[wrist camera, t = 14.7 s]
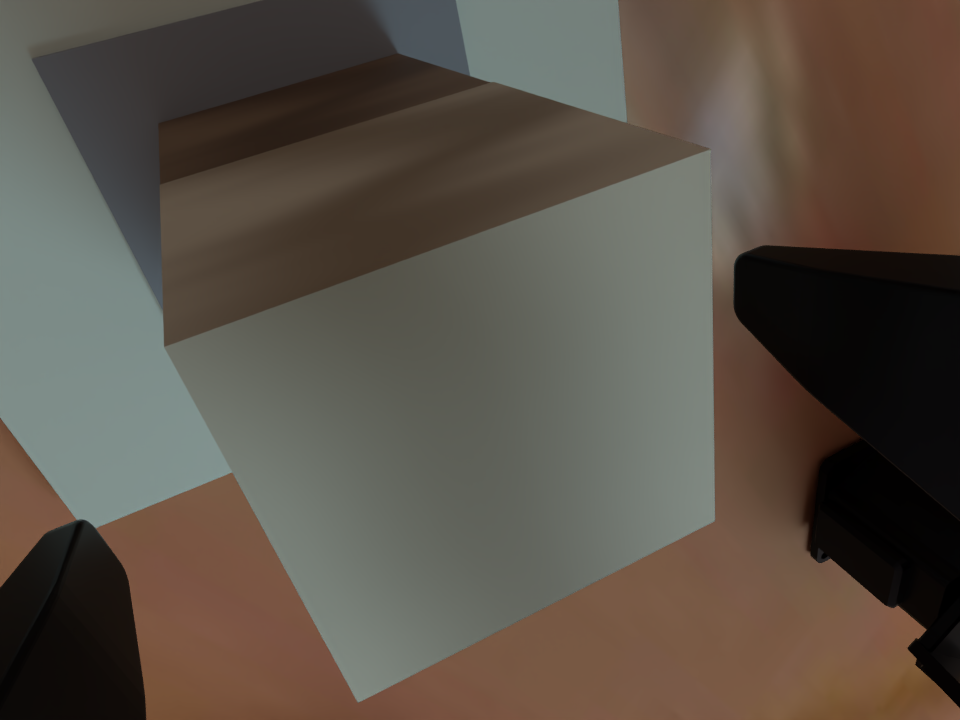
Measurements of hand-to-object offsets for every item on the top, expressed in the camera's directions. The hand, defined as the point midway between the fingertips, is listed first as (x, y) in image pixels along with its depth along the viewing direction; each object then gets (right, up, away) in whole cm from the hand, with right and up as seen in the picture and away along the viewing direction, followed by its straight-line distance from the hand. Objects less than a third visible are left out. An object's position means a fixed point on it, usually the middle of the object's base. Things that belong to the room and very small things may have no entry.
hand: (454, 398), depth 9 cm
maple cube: (-1, +2, +2) cm, 3 cm away
